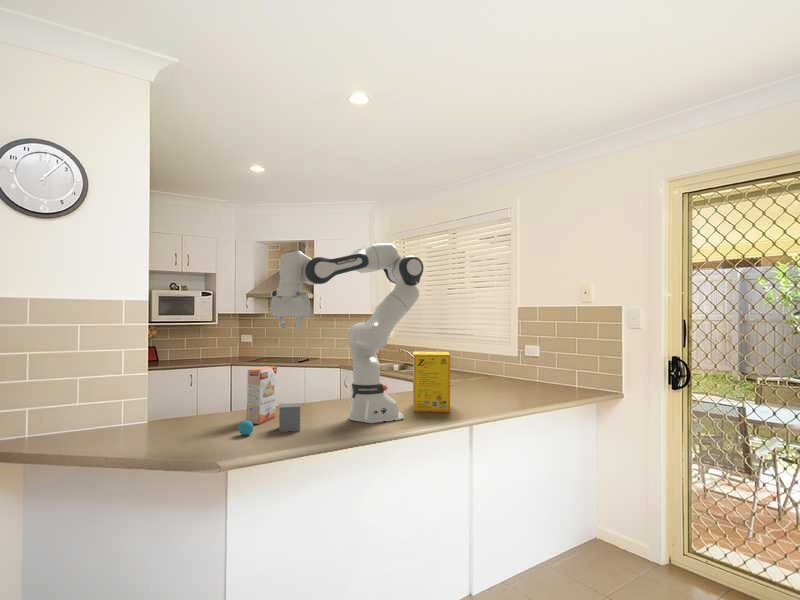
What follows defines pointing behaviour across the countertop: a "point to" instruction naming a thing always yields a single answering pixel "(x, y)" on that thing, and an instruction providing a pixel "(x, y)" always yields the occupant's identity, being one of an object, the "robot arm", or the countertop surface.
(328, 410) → the countertop surface
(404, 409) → the countertop surface
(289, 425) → the gray faceted wedge
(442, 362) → the packaging box
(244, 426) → the ball
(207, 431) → the countertop surface
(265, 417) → the cracker box
